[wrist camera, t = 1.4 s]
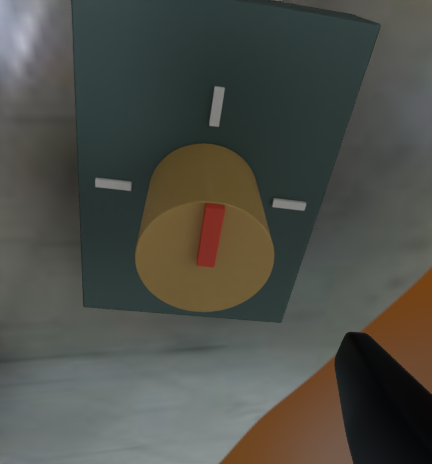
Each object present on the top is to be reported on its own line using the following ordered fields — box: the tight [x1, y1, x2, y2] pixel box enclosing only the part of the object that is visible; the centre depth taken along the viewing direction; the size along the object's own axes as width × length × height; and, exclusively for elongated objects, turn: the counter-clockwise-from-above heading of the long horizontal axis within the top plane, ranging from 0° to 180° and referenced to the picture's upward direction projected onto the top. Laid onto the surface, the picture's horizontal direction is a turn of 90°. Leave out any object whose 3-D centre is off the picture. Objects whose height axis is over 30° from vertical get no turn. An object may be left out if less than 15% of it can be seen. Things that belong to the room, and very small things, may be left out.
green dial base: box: [71, 0, 381, 323], centre depth 18 cm, size 14×10×3 cm
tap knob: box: [135, 143, 274, 312], centre depth 15 cm, size 4×4×5 cm
